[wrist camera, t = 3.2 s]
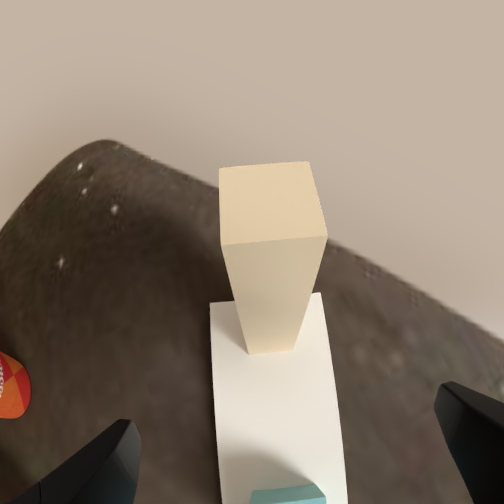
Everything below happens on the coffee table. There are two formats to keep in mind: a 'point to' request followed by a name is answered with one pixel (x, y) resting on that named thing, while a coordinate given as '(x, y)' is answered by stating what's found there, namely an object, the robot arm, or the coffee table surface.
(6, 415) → the paper cup
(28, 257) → the coffee table surface
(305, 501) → the teal block
